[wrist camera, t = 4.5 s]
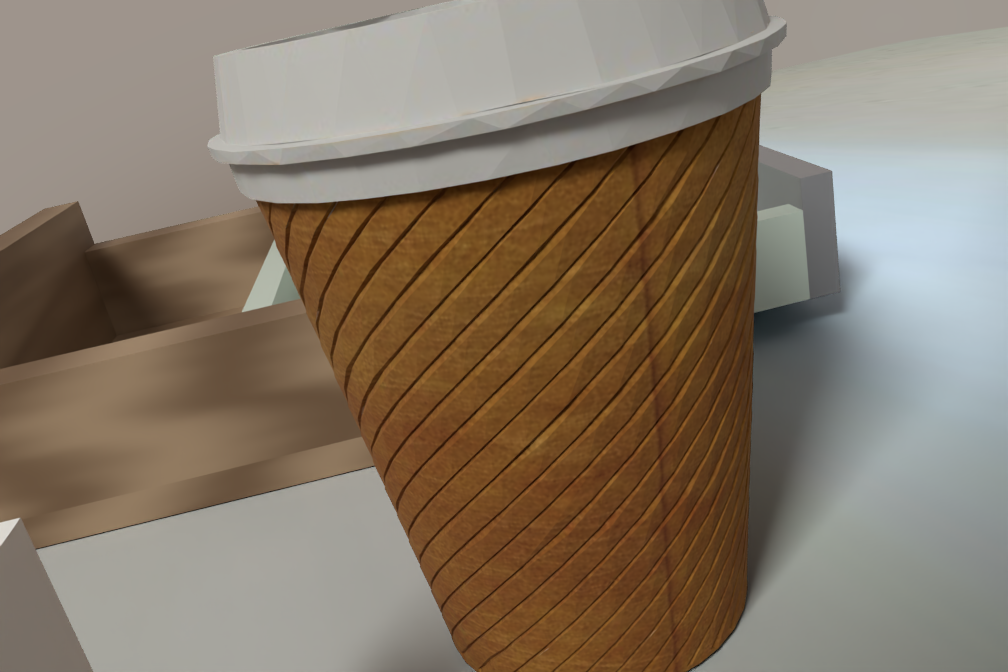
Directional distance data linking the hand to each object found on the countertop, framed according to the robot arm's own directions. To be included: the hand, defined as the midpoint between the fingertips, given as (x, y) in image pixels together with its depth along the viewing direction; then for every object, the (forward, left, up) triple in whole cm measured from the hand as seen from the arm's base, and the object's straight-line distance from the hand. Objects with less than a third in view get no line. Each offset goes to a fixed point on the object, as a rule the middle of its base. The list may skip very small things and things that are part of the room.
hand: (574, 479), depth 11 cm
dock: (+7, -23, -6) cm, 25 cm away
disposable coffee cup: (-1, -6, -7) cm, 9 cm away
